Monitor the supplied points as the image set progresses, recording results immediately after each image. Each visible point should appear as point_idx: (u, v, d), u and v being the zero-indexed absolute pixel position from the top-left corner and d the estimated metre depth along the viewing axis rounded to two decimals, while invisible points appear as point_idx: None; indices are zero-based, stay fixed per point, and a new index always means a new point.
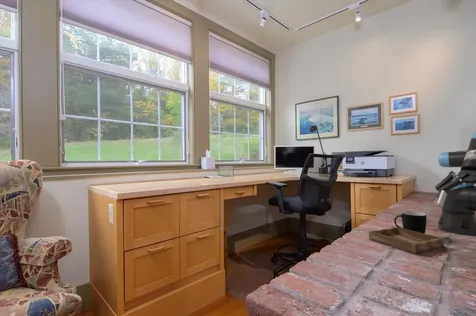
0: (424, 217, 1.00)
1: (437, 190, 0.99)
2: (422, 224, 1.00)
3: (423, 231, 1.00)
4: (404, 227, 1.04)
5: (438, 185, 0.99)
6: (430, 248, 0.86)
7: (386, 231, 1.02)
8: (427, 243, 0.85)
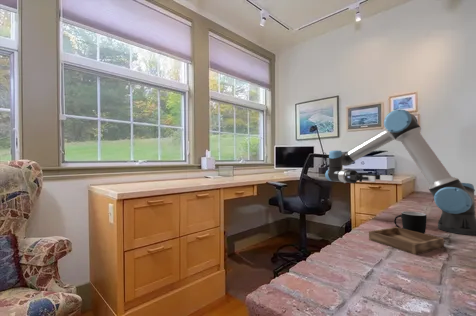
0: (424, 217, 1.00)
1: None
2: (422, 224, 1.00)
3: (423, 231, 1.00)
4: (404, 227, 1.04)
5: None
6: (430, 248, 0.86)
7: (386, 231, 1.02)
8: (427, 243, 0.85)
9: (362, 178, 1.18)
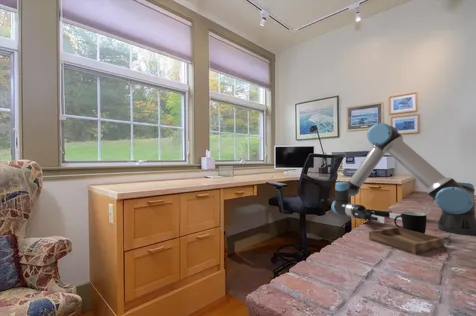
0: (424, 217, 1.00)
1: (392, 213, 1.22)
2: (422, 224, 1.00)
3: (423, 231, 1.00)
4: (404, 227, 1.04)
5: None
6: (430, 248, 0.86)
7: (386, 231, 1.02)
8: (427, 243, 0.85)
9: (371, 218, 1.13)
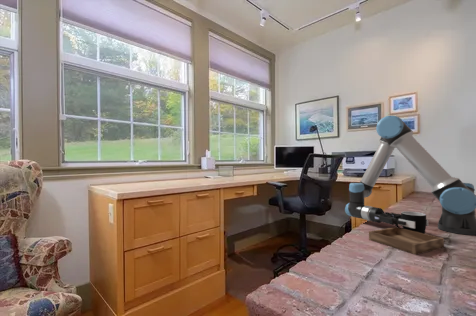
0: (424, 217, 0.99)
1: None
2: (421, 224, 0.99)
3: (423, 231, 1.00)
4: (404, 227, 1.04)
5: None
6: (430, 248, 0.86)
7: (386, 231, 1.02)
8: (427, 243, 0.85)
9: (398, 222, 1.03)
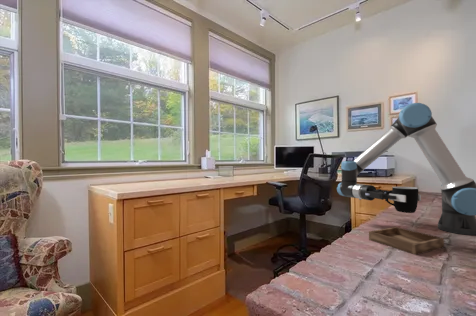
0: (415, 191, 0.94)
1: None
2: (412, 198, 0.94)
3: (414, 205, 0.94)
4: (394, 202, 0.99)
5: None
6: (430, 248, 0.86)
7: (386, 231, 1.02)
8: (427, 243, 0.85)
9: (389, 197, 0.98)
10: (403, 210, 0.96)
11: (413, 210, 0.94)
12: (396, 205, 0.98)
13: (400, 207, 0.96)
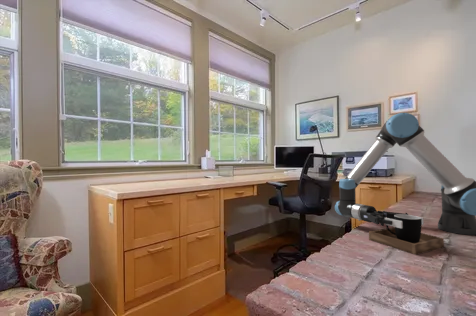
0: (419, 221, 0.89)
1: None
2: (416, 229, 0.88)
3: (417, 237, 0.89)
4: (396, 232, 0.93)
5: None
6: (430, 248, 0.86)
7: (386, 231, 1.02)
8: (427, 243, 0.85)
9: (384, 222, 0.93)
10: (406, 241, 0.90)
11: (416, 242, 0.89)
12: (398, 235, 0.92)
13: (403, 238, 0.91)
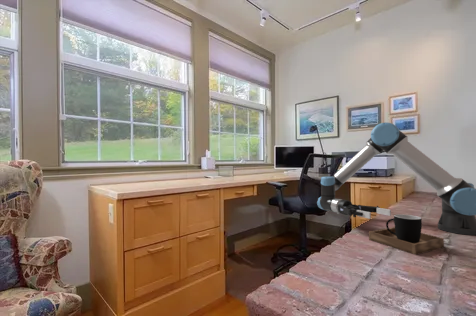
0: (419, 221, 0.89)
1: None
2: (416, 229, 0.88)
3: (417, 237, 0.89)
4: (396, 232, 0.93)
5: None
6: (430, 248, 0.86)
7: (386, 231, 1.02)
8: (427, 243, 0.85)
9: (356, 213, 1.05)
10: (406, 241, 0.90)
11: (416, 242, 0.89)
12: (398, 235, 0.92)
13: (403, 238, 0.91)
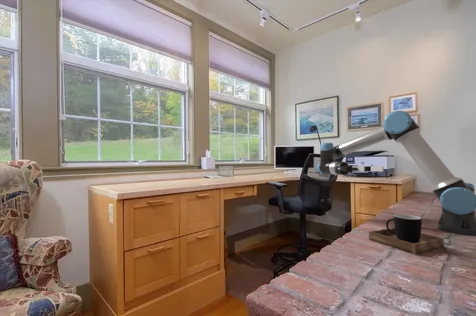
0: (419, 221, 0.89)
1: None
2: (416, 229, 0.88)
3: (417, 237, 0.89)
4: (396, 232, 0.93)
5: (370, 170, 1.25)
6: (430, 248, 0.86)
7: (386, 231, 1.02)
8: (427, 243, 0.85)
9: (352, 169, 1.16)
10: (406, 241, 0.90)
11: (416, 242, 0.89)
12: (398, 235, 0.92)
13: (403, 238, 0.91)
